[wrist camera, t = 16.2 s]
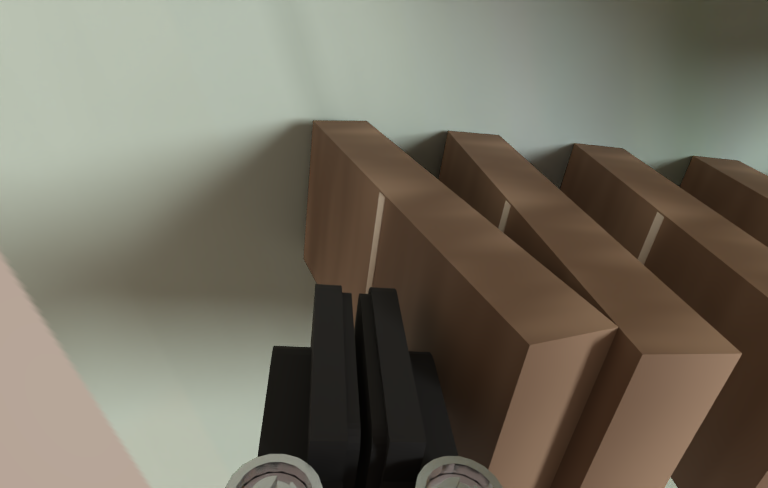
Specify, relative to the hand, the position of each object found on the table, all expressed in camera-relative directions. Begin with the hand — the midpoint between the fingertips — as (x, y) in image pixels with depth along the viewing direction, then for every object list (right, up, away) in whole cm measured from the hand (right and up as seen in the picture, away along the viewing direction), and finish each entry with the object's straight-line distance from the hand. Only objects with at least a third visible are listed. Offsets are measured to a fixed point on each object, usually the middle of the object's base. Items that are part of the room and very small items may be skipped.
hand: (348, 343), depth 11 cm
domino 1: (-1, +4, +7) cm, 8 cm away
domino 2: (+3, +4, +8) cm, 9 cm away
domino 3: (+8, +3, +8) cm, 12 cm away
